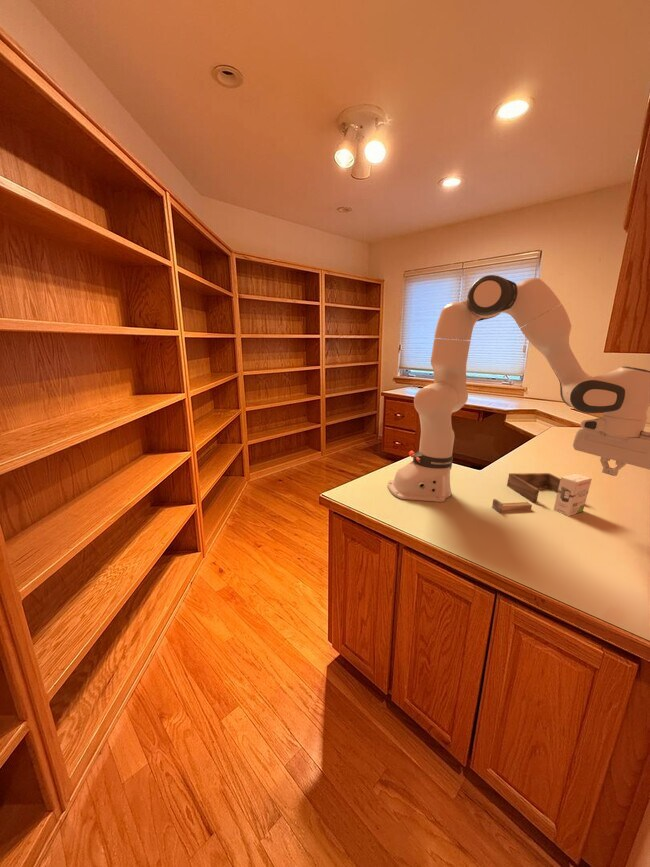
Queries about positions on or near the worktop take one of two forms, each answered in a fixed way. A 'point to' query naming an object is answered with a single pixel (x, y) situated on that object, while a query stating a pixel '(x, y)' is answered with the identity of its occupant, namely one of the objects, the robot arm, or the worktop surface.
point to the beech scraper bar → (510, 506)
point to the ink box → (572, 494)
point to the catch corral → (532, 483)
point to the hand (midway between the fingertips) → (609, 474)
